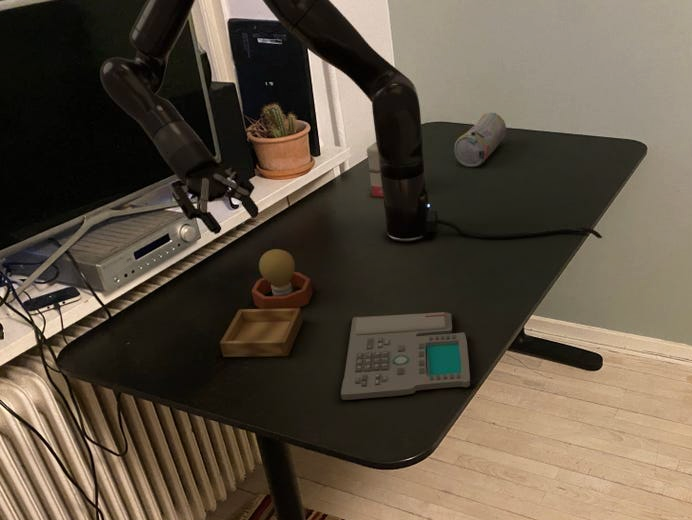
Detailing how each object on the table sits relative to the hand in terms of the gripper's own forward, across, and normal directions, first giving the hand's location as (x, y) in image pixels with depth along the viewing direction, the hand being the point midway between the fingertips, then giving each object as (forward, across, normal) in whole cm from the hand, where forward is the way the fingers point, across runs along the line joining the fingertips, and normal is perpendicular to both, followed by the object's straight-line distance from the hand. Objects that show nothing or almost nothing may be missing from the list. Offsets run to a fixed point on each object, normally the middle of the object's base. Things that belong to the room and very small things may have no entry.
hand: (237, 223), depth 136 cm
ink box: (+2, +51, +17) cm, 54 cm away
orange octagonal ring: (+16, 0, +3) cm, 16 cm away
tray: (+22, -12, -3) cm, 25 cm away
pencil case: (+5, +84, +14) cm, 85 cm away
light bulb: (+16, 0, +3) cm, 16 cm away
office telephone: (+39, -1, -20) cm, 44 cm away
